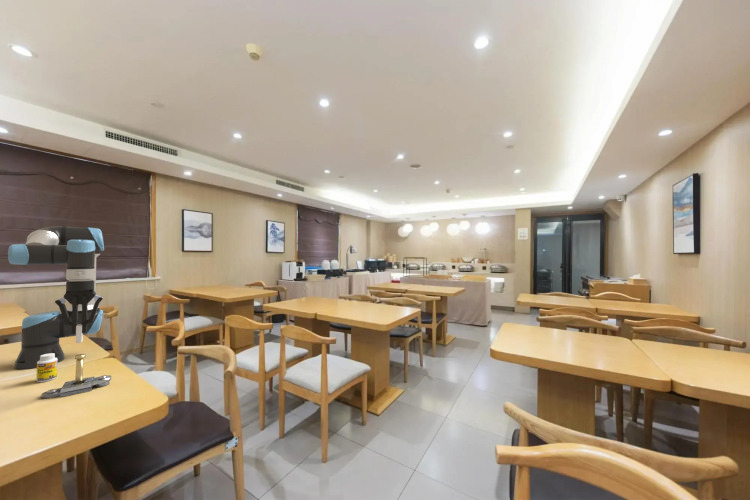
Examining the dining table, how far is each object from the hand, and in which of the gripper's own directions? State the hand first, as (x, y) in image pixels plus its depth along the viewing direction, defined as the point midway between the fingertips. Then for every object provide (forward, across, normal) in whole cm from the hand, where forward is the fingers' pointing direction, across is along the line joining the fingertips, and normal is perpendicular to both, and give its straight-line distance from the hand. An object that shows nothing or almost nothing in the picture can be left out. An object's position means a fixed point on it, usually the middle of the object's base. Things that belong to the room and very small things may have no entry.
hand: (79, 342), depth 109 cm
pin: (+18, 0, 0) cm, 18 cm away
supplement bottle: (+18, -12, +20) cm, 30 cm away
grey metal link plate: (+18, 0, 0) cm, 18 cm away
